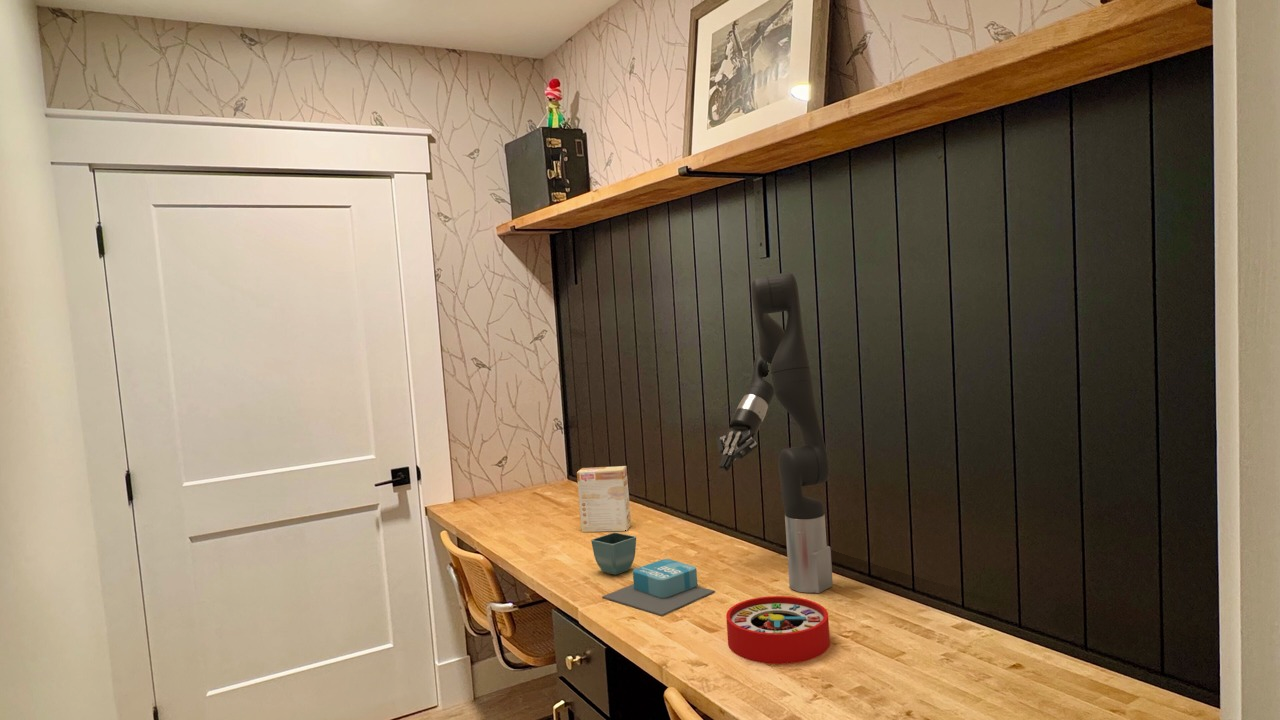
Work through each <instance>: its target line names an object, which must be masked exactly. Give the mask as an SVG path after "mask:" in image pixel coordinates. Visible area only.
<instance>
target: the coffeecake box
mask: <svg viewBox="0 0 1280 720" xmlns="http://www.w3.org/2000/svg"><path fill="white" fill-rule="evenodd" d="M627 468H628V467H627V465H621V466H620V465H619V466H598V467H596V466H595V467H581V468H580V469H579V470H578V471H577V472H576V480H577V492H578V504H579V505H578V506H579V513H580V514H579V517H580V527H581V533H592V532H593V533H598V532H599V533H601V532H604V533H605V532H628V530H629V529H630V528H629V527H631V526H632V520H631V517H632V516H631V507H630V493H629V491H630V490H629V480H628V469H627ZM625 530H626V531H625Z"/></svg>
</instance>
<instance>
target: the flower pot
mask: <svg viewBox="0 0 1280 720" xmlns="http://www.w3.org/2000/svg"><path fill="white" fill-rule="evenodd" d="M590 541H591V546H592V552H593V556H594V559H595V562H596V564H597V565H598V567H599V569H600V570H601V571H602V572H603V573H606V574H607V573H608V574H610V575H615V576H617V575H620V574H622V573H624V572H625V573H626V572H627V571H630V568H631V567H632V566H633V563H634V560H635V557H636V550H637V549H636V548H637V536H635V535H630V534H623V533H620V532H616V531H613V532H610V533H608V534H605V535H602V536H598V537H595V538H593V539H592V538H591V540H590Z"/></svg>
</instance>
